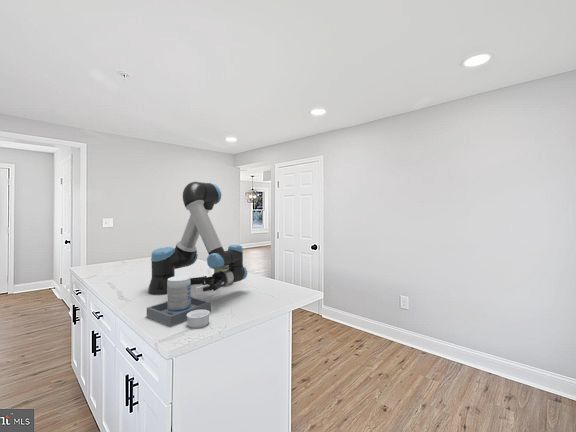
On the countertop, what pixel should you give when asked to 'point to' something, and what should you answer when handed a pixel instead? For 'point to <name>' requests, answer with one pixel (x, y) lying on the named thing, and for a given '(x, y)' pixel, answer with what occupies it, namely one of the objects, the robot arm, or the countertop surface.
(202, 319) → the ramekin
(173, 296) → the supplement tub
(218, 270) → the canned food
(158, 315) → the tray
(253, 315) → the countertop surface
